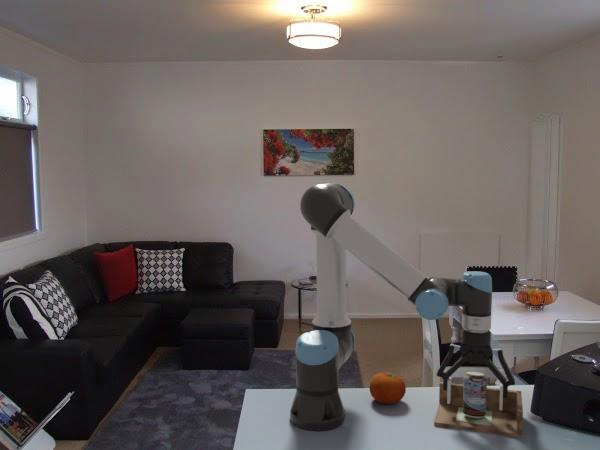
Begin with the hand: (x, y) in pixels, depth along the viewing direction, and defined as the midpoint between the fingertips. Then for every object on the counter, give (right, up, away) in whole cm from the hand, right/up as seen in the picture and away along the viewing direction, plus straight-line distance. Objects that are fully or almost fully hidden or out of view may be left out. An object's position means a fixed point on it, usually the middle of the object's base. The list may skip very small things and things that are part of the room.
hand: (474, 405), depth 153 cm
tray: (+1, -4, 0) cm, 4 cm away
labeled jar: (0, -3, 0) cm, 3 cm away
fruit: (-22, -3, +14) cm, 26 cm away
